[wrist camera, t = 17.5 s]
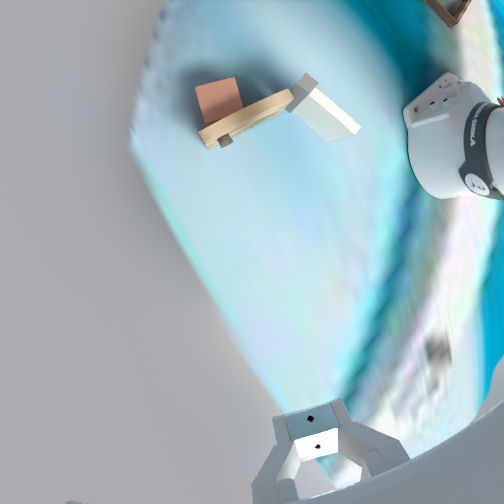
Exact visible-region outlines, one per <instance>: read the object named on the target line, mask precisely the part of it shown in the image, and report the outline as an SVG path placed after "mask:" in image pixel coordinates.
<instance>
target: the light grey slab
mask: <svg viewBox="0 0 504 504" xmlns="http://www.w3.org/2000/svg"><path fill="white" fill-rule="evenodd" d="M317 85H318V82H317V81H316V80H314V79H313V78H312V77H310V76H309V75H308V74H307V73H305V75H304V76H303V77H302V78H301V79H300V80H299V81H298V82H297V84H296V85H295V86H294V87H293V89H292V90H291V91H290V92H291V94H292V95H293V97H294V99H293V100H292V101H291V102H290V103H289V104H288V106H287V107H286V108H285V110H287V111H288V112H289V113H291V112H292V113H293V114H294V115H296V116H297V117H298V118H299V119H301V120H302V121H303V122H304V123H306V124H307V125H308V126H309V127H311V128H312V129H313V130H314V131H315V132H317V133H318V134H319V135H320V136H321V137H323V138H324V139H325V140H326V141H327V142H328V143H330V142H333V141H336V140H339V139H343V138H346V137H349V136H352V135H355V134H356V132H357V131H358V130H359V128H360V127H361V126H359V125H358V124H357V123H356V122H355V121H354V120H353V119H352V118H351V117H350V116H348V115H347V114H346V113H345V112H344V111H343V110H342V109H341V108H339V107H338V106H337V105H336V104H335V103H334V102H332V101H331V100H330V99H329V98H328V97H326V96H325V95H324V94H323V93H321V92H320V91H319V90H318V89H316V88H315V87H316V86H317Z"/></svg>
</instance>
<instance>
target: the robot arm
mask: <svg viewBox="0 0 504 504" xmlns="http://www.w3.org/2000/svg"><path fill="white" fill-rule="evenodd" d="M497 100H498V101H499V103H500V105H501V106H500V105H497V104H493V103H492V102H491V100H490V99H489V97H488V96H487V95H486V94H485V92H484V91H483V90H482V89H481V88H480V87H479V86H477V85H476V84H474V83H472V82H463V81H462V80H461V79H459V78H458V77H457V76H455V75H454V74H452V73H450V72H448V73H444V74H443V75H442V76H441V77H439V78H438V79H437V80H436V81H435V82H434V83H432V84H431V85H430V86H429V87H428V88H427V89H426V90H424V91H423V92H422V93H421V94H420V95H419V96H417V97H416V98H415V99H414V100H413V101H412V102H410V103H409V104H408V105H407V106H406V107H405V108H404V109H403V116H404V120H405V123H406V126H407V129H408V152H409V158H410V163H411V166H412V169H413V171H414V174H415V176H416V178H417V180H418V181H419V183H420V184H421V186H422V187H423V188H424V189H425V190H426V191H427V192H428V193H429V194H431V195H432V196H434V197H437V198H440V199H448V198H452V197H457V196H472V195H481V196H484V197H487V198H491V199H497V200H504V103H503V102H504V99H503V97H502V100H503V102H502V101H501V100H500V99H499V98H497ZM414 109H415V110H416V112H415V111H414ZM284 416H285V417H284ZM272 420H273V425H274V430H275V435H276V440H277V445H275V446H274V447H273V449H272V451H271V452H270V454H269V456H268V458H267V460H266V461H265V463H264V464H263V466H262V468H261V470H260V471H259V473H258V475H257V476H256V478H255V479H254V481H253V483H252V484H251V486H252V495H253V504H504V399H503V400H502V401H501V402H500V403H498V404H497V405H496V406H495V407H493V408H492V409H491V410H489V411H488V412H487V413H486V414H484V415H483V416H481V417H480V418H479V419H477V420H476V421H474V422H473V423H472V424H470V425H469V426H467V427H466V428H464V429H463V430H461V431H460V432H458V433H457V434H455V435H453V436H452V437H450V438H449V439H447V440H445V441H444V442H442V443H440V444H439V445H437V446H435V447H433V448H432V449H430V450H428V451H426V452H424V453H423V454H421V455H419V456H417V457H415V458H413V459H410V458H409V456H408V454H407V453H406V451H405V450H404V448H403V446H402V445H401V443H400V441H399V440H397V439H395V438H392V437H390V436H388V435H385V434H383V433H381V432H378V431H376V430H374V429H372V428H369V427H367V426H365V425H363V424H361V423H358V422H354V423H353V421H352V419H351V417H350V415H349V413H348V411H347V409H346V407H345V405H344V403H343V401H342V399H341V398H338V399H335V400H332V401H329V402H326V403H323V404H319V405H316V406H313V407H310V408H306V409H303V410H299V411H295V412H291V413H287V414H283V415H279V416H274V417H272ZM338 451H339V453H341V454H342V455H344V456H345V457H347V458H348V459H350V460H351V461H353V462H354V463H356V464H358V465H359V466H361V467H362V474H361V481H360V482H358V483H355V484H352V485H349V486H346V487H343V488H340V489H337V490H334V491H331V492H327V493H324V494H320V495H317V496H313V497H310V498H306V499H302V500H300V498H299V495H298V492H297V489H296V485H295V482H294V478H295V476H296V473H297V471H298V469H299V466H300V463H301V462H304V461H308V460H311V459H314V458H318V457H321V456H325V455H328V454H332V453H335V452H338ZM63 504H87V503H82V502H78V501H67V502H65V503H63Z"/></svg>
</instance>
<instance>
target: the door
mask: <svg viewBox="0 0 504 504" xmlns="http://www.w3.org/2000/svg"><path fill="white" fill-rule="evenodd" d="M293 99H294V97H293V95H292V94H291V92H290V90H289V89H288V88H287V89H285V90H283V91H280V92H278V93H276V94H273V95H271V96H269V97H267V98H264V99H262V100H260V101H258V102H256V103H254V104H251V105H249V106H247V107H245V108H243V109H241V110H239V111H237V112H235V113H233V114H231V115H229V116H227V117H225V118H223V119H221V120H219V121H218V122H216V123H214V124H212V125H210V126H208V127H206V128H205V129H203V130H201V131H199V132H198V133H199V134H200V136H201V138H202V140H203V141H204V143H205V145H206V146H207V148H208V150H209V149H211V148H213V147H214V146H216V145H218V144H220V146H221V148H223V147H225V146H227V145H229V144H230V143H232V142H233V140H232V138H231V137H233V136H235V135H237V134H239V133H241V132H243V131H245V130H247V129H249V128H251V127H253V126H255V125H257V124H259V123H261V122H263V121H265V120H267V119H269V118H271V117H273V116H275V115H278V114H280V113H282V111H283V110H284V109H285V108H286V107H287V106H288V104H289V103H290V102H291V101H292V100H293Z"/></svg>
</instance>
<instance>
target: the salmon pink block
mask: <svg viewBox="0 0 504 504" xmlns="http://www.w3.org/2000/svg"><path fill="white" fill-rule="evenodd" d="M195 90H196V94H197V98H198V101H199V105H200V109H201V112H202V116H203V120H204V123H205V126H206V127H208V126H210V125H212V124H214V123H216V122H218V121H219V120H221V119H223V118H225V117H227V116H229V115H231V114H233V113H235V112H237V111H239V110H241V109H243V108H244V107H243V104H242V100H241V97H240V94H239V90H238V87H237V83H236V80H235V77H232V78H227V79H223V80H219V81H215V82H211V83H208V84H204V85H200V86H197V87H195Z"/></svg>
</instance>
